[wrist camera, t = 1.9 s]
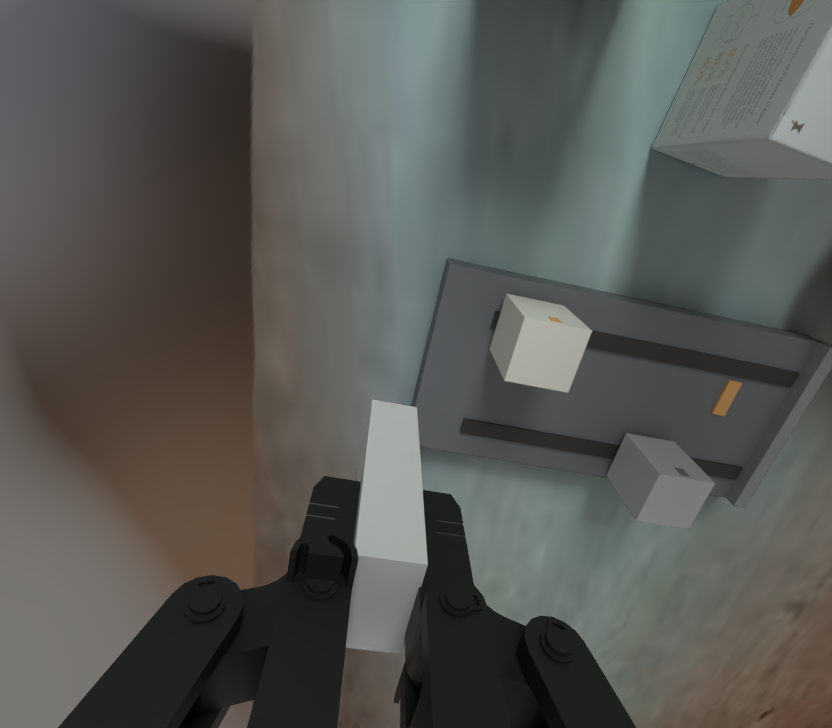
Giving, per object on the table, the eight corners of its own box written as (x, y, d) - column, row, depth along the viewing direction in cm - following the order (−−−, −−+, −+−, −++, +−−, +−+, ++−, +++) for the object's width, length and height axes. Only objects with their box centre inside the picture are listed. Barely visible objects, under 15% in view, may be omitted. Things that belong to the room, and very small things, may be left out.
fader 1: (506, 292, 30) (525, 316, 26) (564, 304, 31) (592, 329, 26) (489, 349, 32) (504, 381, 27) (544, 360, 32) (567, 393, 28)
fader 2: (626, 432, 35) (660, 473, 30) (675, 441, 35) (715, 482, 31) (606, 476, 37) (635, 521, 32) (653, 484, 37) (688, 529, 32)
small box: (722, 178, 30) (871, 187, 21) (646, 148, 29) (766, 143, 20) (797, 38, 27) (1014, -28, 18) (716, 1, 26) (897, -89, 17)
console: (447, 258, 32) (451, 267, 29) (808, 335, 35) (842, 350, 32) (405, 430, 37) (406, 451, 35) (721, 483, 40) (744, 507, 38)
